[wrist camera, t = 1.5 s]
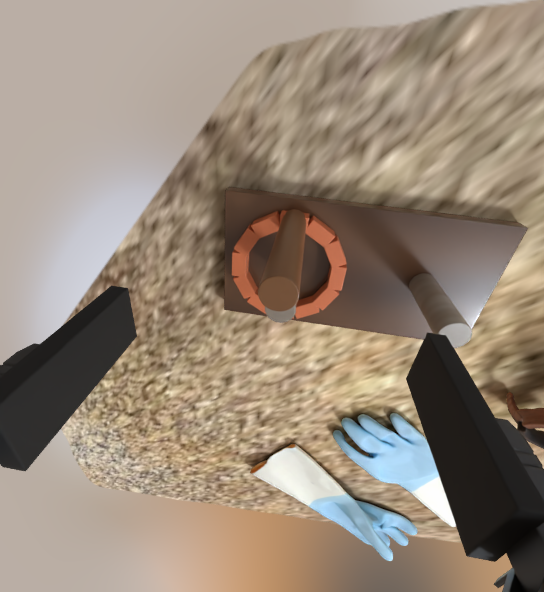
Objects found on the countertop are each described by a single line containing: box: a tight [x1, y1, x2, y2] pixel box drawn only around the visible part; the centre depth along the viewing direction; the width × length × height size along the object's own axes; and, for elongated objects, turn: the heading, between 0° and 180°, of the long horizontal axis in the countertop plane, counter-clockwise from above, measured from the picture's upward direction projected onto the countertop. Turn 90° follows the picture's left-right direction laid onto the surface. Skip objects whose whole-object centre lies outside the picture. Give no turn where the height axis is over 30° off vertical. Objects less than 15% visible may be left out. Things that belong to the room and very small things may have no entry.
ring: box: [232, 209, 347, 319], centre depth 24 cm, size 11×11×14 cm
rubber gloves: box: [250, 413, 456, 561], centre depth 47 cm, size 27×33×6 cm
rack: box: [224, 187, 528, 348], centre depth 26 cm, size 13×26×10 cm, turn 85°
